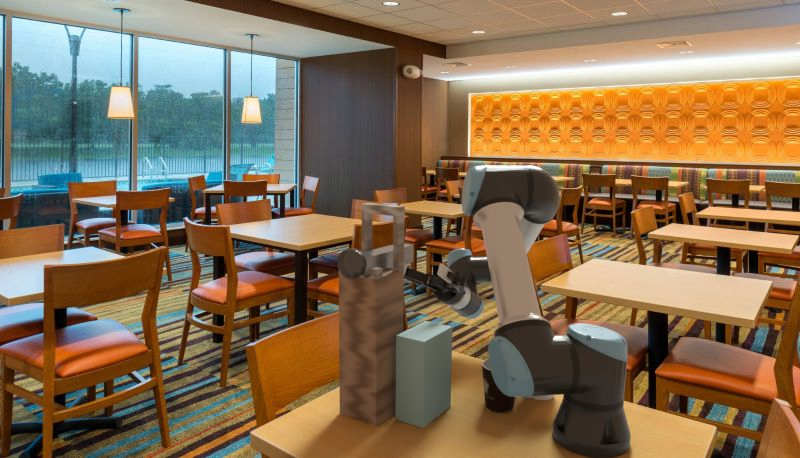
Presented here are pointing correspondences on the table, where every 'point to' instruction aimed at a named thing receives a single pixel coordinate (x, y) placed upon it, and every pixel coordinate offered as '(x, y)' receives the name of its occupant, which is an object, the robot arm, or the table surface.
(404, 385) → the teal pedestal
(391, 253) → the grey elongated piece
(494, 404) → the coffee mug
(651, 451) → the table surface
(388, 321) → the walnut stand
